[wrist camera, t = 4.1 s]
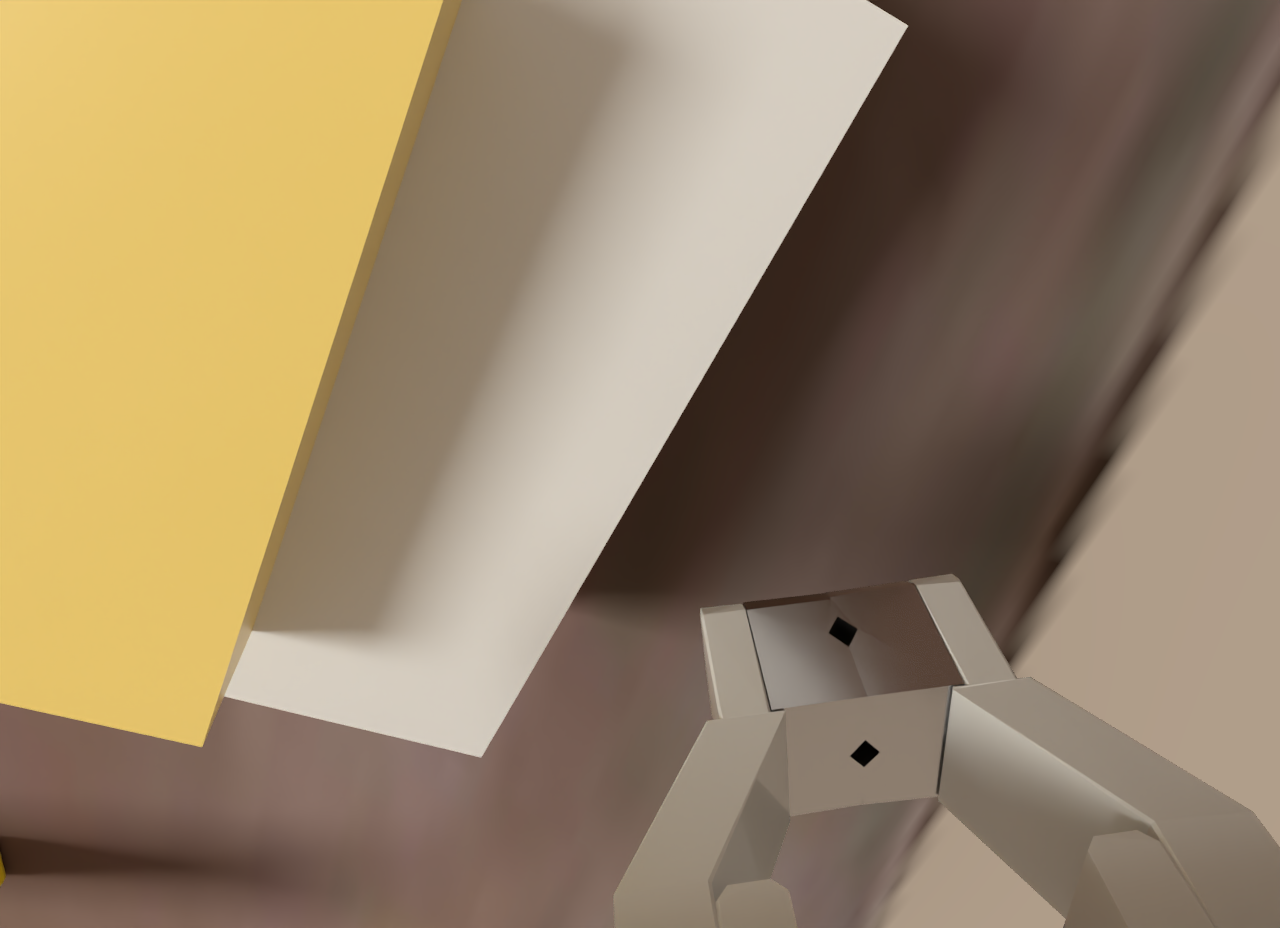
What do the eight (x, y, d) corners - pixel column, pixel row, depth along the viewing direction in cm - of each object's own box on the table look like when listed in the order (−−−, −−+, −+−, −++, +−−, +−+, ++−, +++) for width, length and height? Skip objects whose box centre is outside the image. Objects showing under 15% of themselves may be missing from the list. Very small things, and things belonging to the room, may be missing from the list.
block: (251, 631, 12) (202, 747, 10) (-257, 496, 10) (-416, 612, 9) (468, -22, 8) (443, -1, 6) (-331, -440, 6) (-672, -572, 4)
